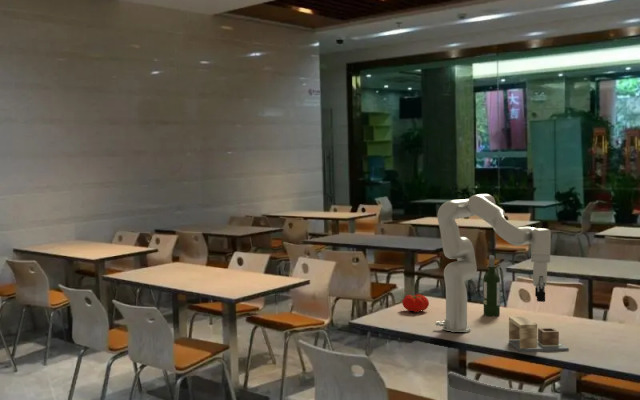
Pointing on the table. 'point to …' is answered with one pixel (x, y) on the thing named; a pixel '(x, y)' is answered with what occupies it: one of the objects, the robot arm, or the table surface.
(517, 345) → the board
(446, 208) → the robot arm
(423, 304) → the tomato
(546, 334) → the brown wooden cube
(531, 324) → the tan wooden block
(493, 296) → the wine bottle
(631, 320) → the table surface
